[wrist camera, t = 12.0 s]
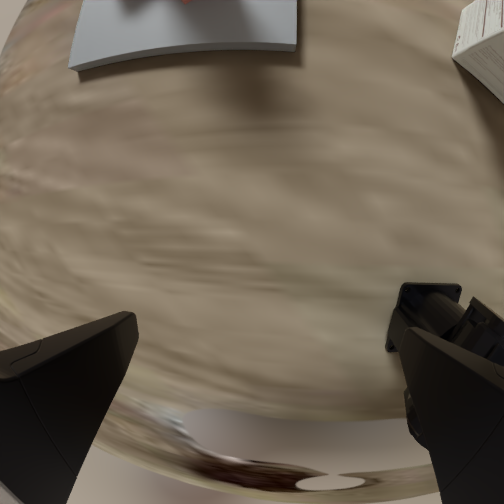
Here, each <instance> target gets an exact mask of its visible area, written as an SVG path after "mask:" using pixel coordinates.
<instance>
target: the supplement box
mask: <svg viewBox="0 0 504 504" xmlns="http://www.w3.org/2000/svg"><path fill="white" fill-rule="evenodd" d="M452 58H453V59H454V60H455V61H456V62H458V63H459V64H460V65H461V66H463V67H464V68H465V69H466V70H468V71H469V72H470V73H471V74H472V75H474V76H475V77H476V78H477V79H478V80H479V81H480V82H481V83H483V84H484V85H485V86H486V87H487V88H488V89H489V90H490V91H491V92H492V93H493V94H494V95H495V96H496V97H497V98H498V99H499V100H500V101H501V102H502V103H503V104H504V0H475V1H474V2H472V3H471V4H469V5H468V6H467V7H465V8H464V9H463V10H462V13H461V17H460V23H459V27H458V32H457V37H456V41H455V45H454V50H453V54H452Z"/></svg>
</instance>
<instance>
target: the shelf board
mask: <svg viewBox="0 0 504 504" xmlns="http://www.w3.org/2000/svg"><path fill="white" fill-rule="evenodd" d="M296 30H297V0H192V1H190V2H188V3H187V4H184V3H183V2H182V1H181V0H84V2H83V5H82V8H81V12H80V15H79V19H78V23H77V26H76V30H75V35H74V39H73V43H72V48H71V53H70V58H69V63H68V68H69V69H72V70H74V71H77V72H78V71H82V70H85V69H89V68H93V67H97V66H102V65H106V64H110V63H115V62H120V61H125V60H131V59H136V58H142V57H149V56H156V55H164V54H172V53H182V52H194V51H210V50H272V51H288V52H295V48H296Z"/></svg>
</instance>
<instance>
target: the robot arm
mask: <svg viewBox="0 0 504 504" xmlns="http://www.w3.org/2000/svg"><path fill="white" fill-rule="evenodd" d="M407 287H408V290H407V291H405V289H406V288H407ZM457 288H458V289H457ZM456 289H457V291H456ZM461 291H462V287H461V286H460V285H459V284H447V283H410V282H406V283H404V284H403V285H402V286H401V288H400V293H399V297H398V301H397V305H396V307H395V309H394V311H393V315H392V319H391V323H390V326H389V330H388V339H387V342H386V346H385V347H386V349H387V351H388V352H399V355H400V359H401V363H402V367H403V371H404V375H405V379H406V383H407V386H408V387H407V388H406V390H405V391H404V398H405V406H406V418H407V424H408V427H409V432H410V434H411V435H413V437H414V438H415V440H416V441H417V442H418V443H419V444H420V445H421V446H423V447H424V448H426V449H427V450H428V451H429V454H430V457H431V461H432V464H433V468H434V471H435V475H436V479H437V483H438V487H439V491H440V496H441V500H442V504H504V319H503V318H502V317H500V316H499V315H498V314H497V313H495V312H494V311H493V310H491V309H490V308H489V307H487V306H486V305H485V304H483V303H482V302H480V301H479V300H478V299H476V298H475V297H474V296H473V297H472V299H471V301H470V302H469V303H470V305H469V307H468V308H467V310H465V309H464V308H463V307H461V306H460V305H459V304H458V302H459V298H460V295H461ZM138 339H139V333H138V326H137V319H136V315H135V314H134V313H133V312H128V311H122V312H119V313H116V314H113V315H110V316H107V317H105V318H102V319H99V320H96V321H93V322H90V323H87V324H84V325H81V326H78V327H75V328H73V329H70V330H67V331H64V332H61V333H58V334H55V335H52V336H49V337H46V338H43V339H40V340H37V341H34V342H31V343H28V344H24V345H21V346H18V347H14V348H10V349H7V350H3V351H0V504H66V503H67V500H68V498H69V495H70V493H71V491H72V488H73V486H74V483H75V481H76V479H77V477H76V476H78V473H79V471H80V469H81V467H82V464H83V462H84V460H85V458H86V455H87V453H88V451H89V449H90V447H91V444H92V442H93V440H94V438H95V436H96V434H97V431H98V429H99V427H100V425H101V423H102V421H103V419H104V417H105V415H106V413H107V411H108V408H109V406H110V404H111V402H112V400H113V398H114V396H115V394H116V392H117V390H118V388H119V386H120V384H121V382H122V380H123V378H124V376H125V374H126V371H127V369H128V366H129V363H130V361H131V358H132V355H133V353H134V350H135V347H136V345H137V342H138ZM391 345H393V346H392V347H390V346H391Z"/></svg>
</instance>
